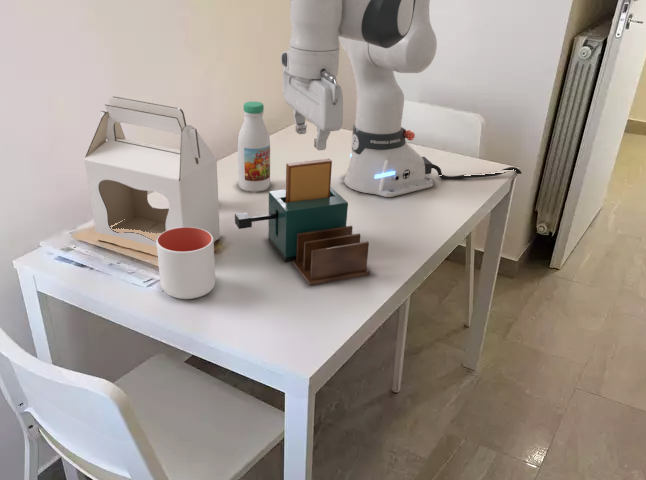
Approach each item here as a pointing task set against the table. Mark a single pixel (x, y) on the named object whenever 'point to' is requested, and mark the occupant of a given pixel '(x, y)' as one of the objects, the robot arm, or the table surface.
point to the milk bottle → (253, 150)
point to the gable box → (150, 174)
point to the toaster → (302, 219)
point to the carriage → (251, 219)
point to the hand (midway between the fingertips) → (310, 140)
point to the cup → (186, 262)
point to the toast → (308, 180)
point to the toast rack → (331, 255)
